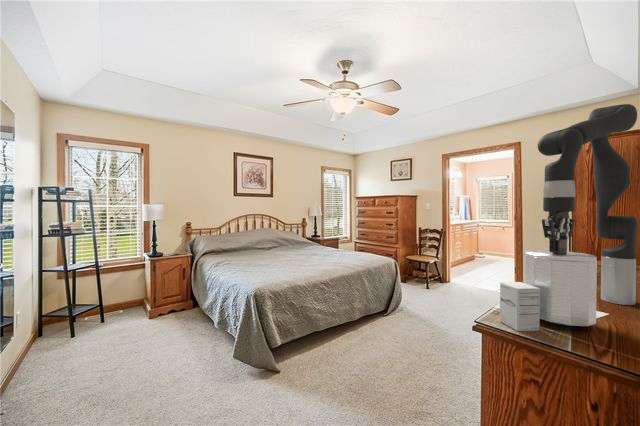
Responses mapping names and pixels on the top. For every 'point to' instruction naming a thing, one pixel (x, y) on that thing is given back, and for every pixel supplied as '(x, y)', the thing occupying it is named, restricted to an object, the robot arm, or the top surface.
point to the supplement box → (520, 306)
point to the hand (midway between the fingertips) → (558, 251)
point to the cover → (564, 284)
